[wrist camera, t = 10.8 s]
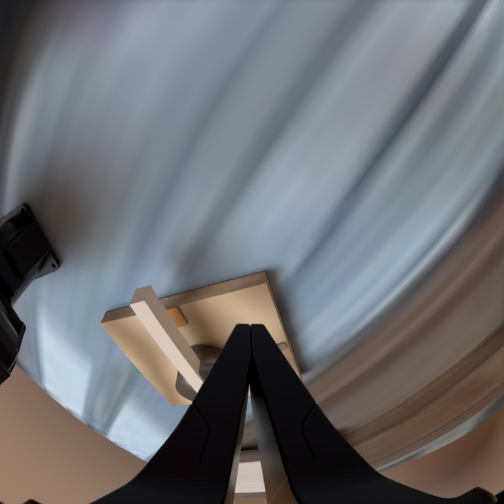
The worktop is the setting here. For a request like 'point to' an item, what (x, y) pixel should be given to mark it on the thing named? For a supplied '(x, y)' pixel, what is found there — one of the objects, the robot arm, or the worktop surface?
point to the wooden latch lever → (174, 343)
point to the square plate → (249, 473)
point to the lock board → (199, 326)
